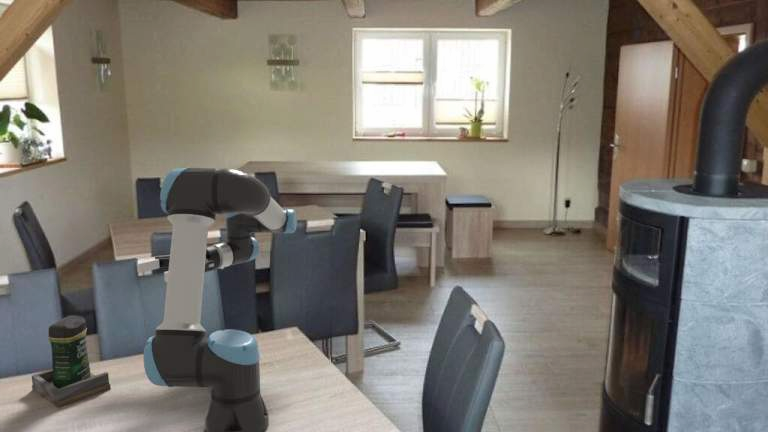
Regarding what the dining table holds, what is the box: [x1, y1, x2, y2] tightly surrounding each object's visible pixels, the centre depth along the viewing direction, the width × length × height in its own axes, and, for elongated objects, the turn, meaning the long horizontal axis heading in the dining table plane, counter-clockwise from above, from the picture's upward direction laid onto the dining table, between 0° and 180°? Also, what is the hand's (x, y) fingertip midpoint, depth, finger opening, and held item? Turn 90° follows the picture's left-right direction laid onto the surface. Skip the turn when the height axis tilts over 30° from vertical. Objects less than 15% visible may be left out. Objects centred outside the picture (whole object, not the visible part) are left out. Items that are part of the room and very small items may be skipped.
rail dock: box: [31, 368, 112, 409], centre depth 176 cm, size 16×14×4 cm
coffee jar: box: [48, 314, 92, 389], centre depth 175 cm, size 10×8×19 cm
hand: (151, 272), depth 182 cm, fingers open, 13 cm apart
